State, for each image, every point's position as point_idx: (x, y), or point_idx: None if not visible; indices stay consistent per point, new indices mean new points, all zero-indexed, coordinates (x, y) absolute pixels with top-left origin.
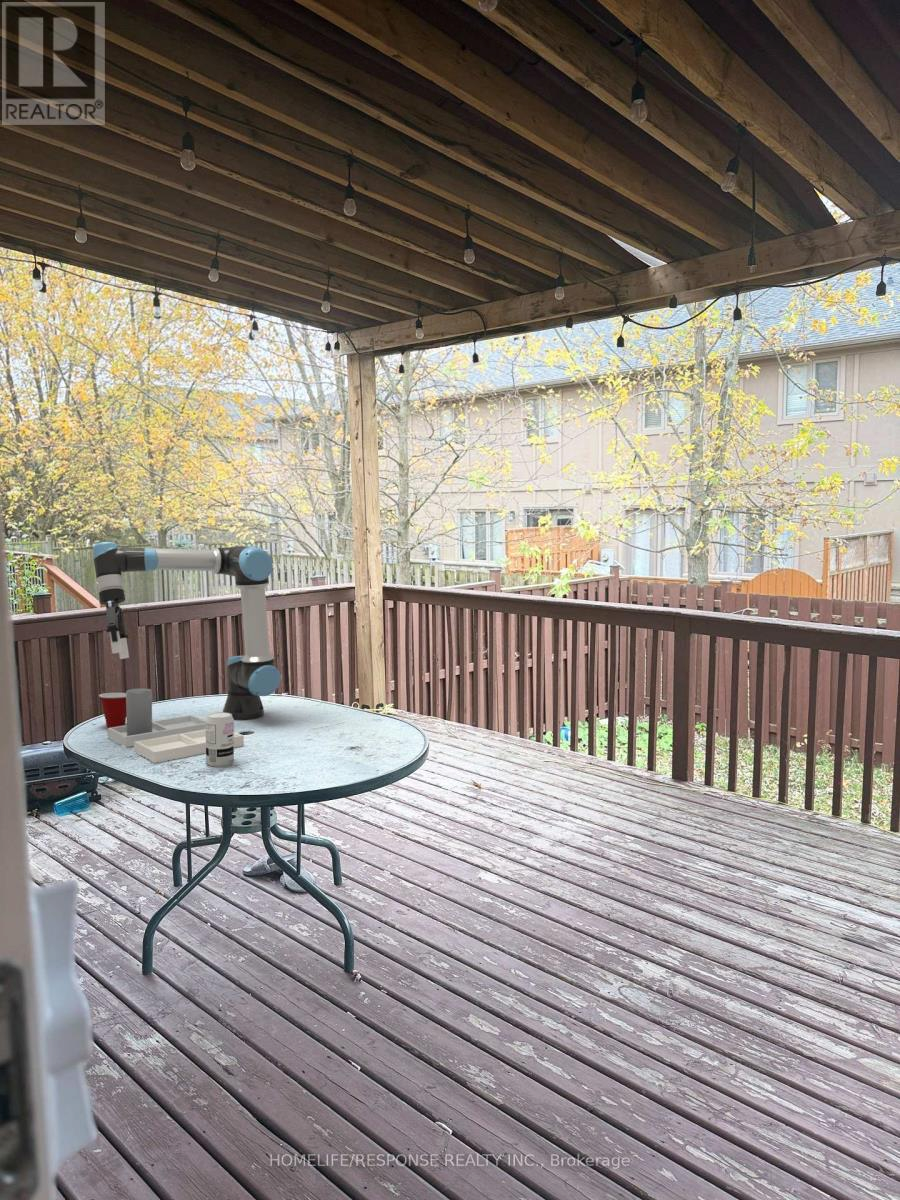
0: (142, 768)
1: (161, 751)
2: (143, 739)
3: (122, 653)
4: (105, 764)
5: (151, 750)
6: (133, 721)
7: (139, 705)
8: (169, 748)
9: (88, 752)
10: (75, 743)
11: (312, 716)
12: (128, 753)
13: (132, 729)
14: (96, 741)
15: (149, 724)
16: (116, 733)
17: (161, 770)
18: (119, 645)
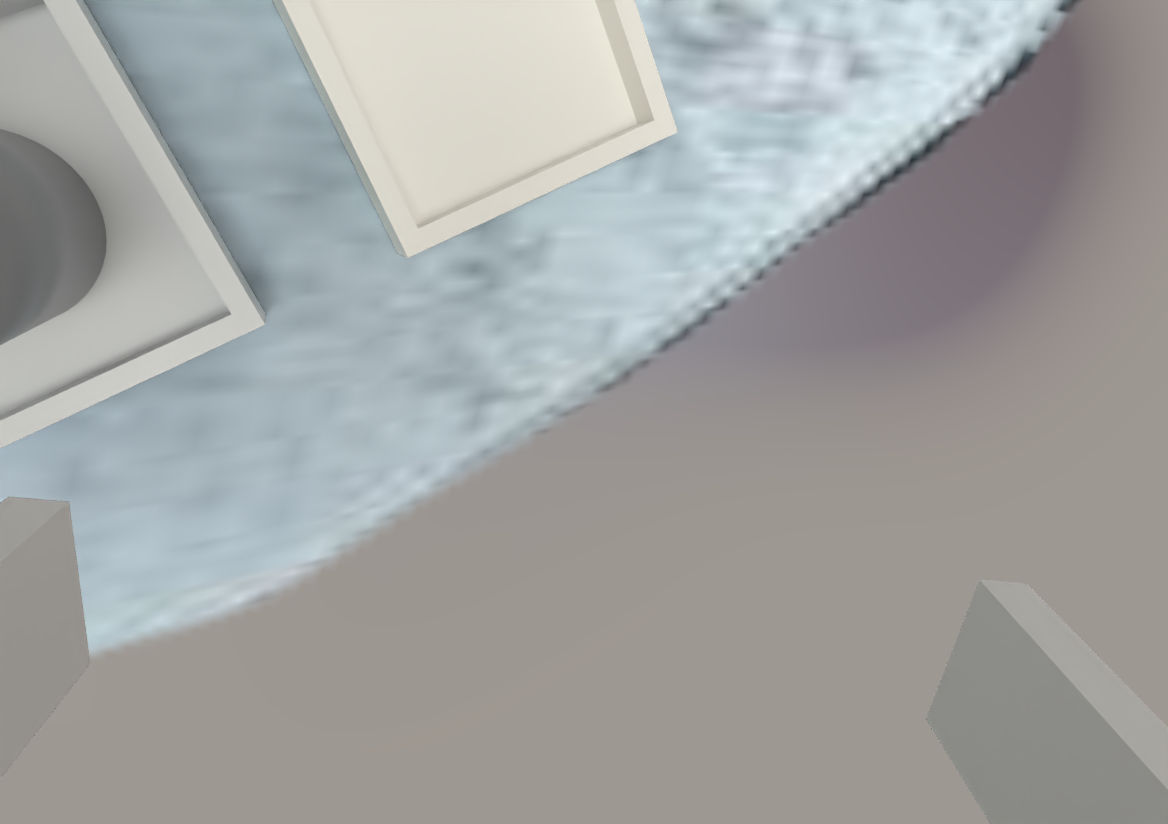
0: (712, 201)
1: (661, 88)
2: (194, 198)
3: (13, 687)
4: (593, 388)
5: (642, 148)
6: (70, 283)
7: (33, 234)
8: (630, 33)
9: (330, 516)
10: None
11: None
12: (406, 288)
13: (82, 286)
14: None
15: (23, 144)
16: (100, 400)
17: (771, 106)
18: (1109, 696)
